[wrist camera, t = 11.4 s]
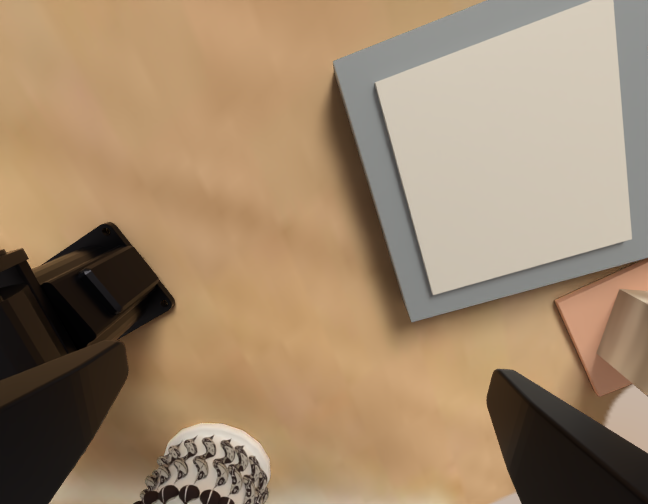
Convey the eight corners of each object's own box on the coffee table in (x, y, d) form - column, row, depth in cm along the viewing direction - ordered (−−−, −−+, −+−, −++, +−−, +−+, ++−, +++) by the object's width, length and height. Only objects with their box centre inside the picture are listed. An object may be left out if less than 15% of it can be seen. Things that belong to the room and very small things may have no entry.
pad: (595, 392, 24) (599, 396, 23) (554, 300, 22) (557, 303, 21) (722, 342, 22) (729, 346, 22) (691, 237, 20) (697, 239, 20)
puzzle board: (403, 302, 22) (412, 325, 19) (333, 71, 18) (332, 59, 15) (776, 196, 19) (849, 207, 16) (792, -108, 15) (893, -163, 12)
